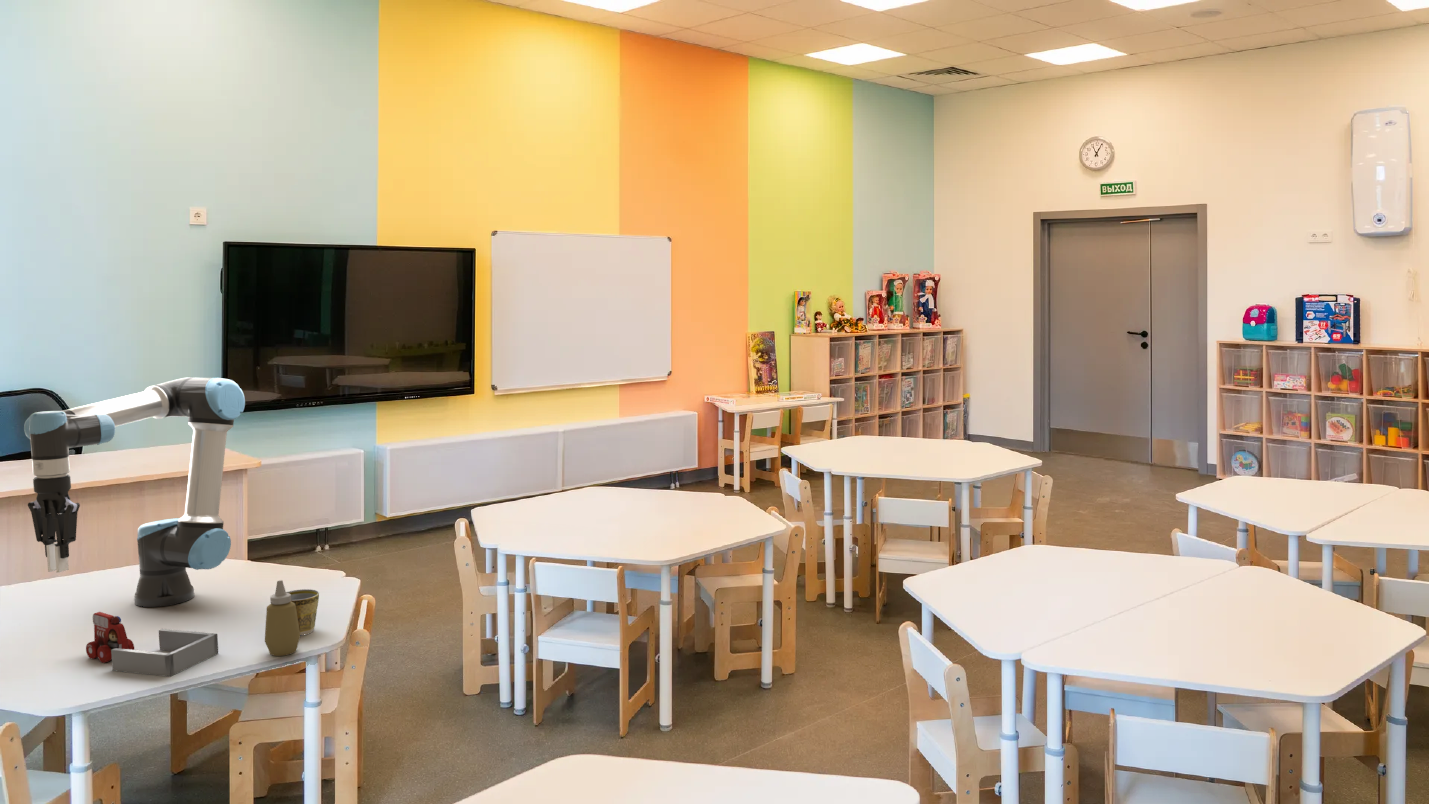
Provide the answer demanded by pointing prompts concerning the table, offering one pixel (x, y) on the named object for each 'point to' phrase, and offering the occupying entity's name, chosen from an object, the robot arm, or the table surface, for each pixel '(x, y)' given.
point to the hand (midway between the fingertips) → (58, 570)
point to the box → (185, 653)
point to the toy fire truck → (107, 637)
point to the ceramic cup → (305, 608)
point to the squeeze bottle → (281, 623)
